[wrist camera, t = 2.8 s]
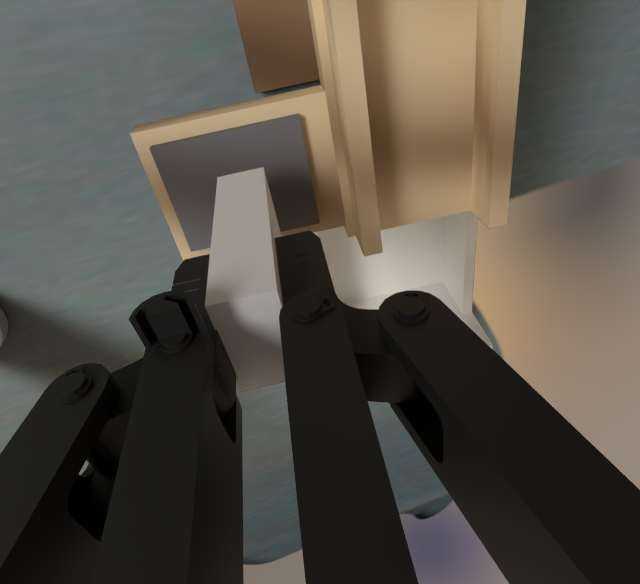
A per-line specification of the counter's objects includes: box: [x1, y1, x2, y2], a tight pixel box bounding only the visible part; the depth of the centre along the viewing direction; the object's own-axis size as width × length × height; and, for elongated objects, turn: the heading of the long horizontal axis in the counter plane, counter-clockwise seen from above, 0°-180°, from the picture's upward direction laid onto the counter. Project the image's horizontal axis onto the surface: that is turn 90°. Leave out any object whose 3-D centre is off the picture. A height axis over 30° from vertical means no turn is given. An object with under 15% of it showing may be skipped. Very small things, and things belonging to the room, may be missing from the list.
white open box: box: [314, 211, 493, 349], centre depth 26 cm, size 10×9×7 cm
